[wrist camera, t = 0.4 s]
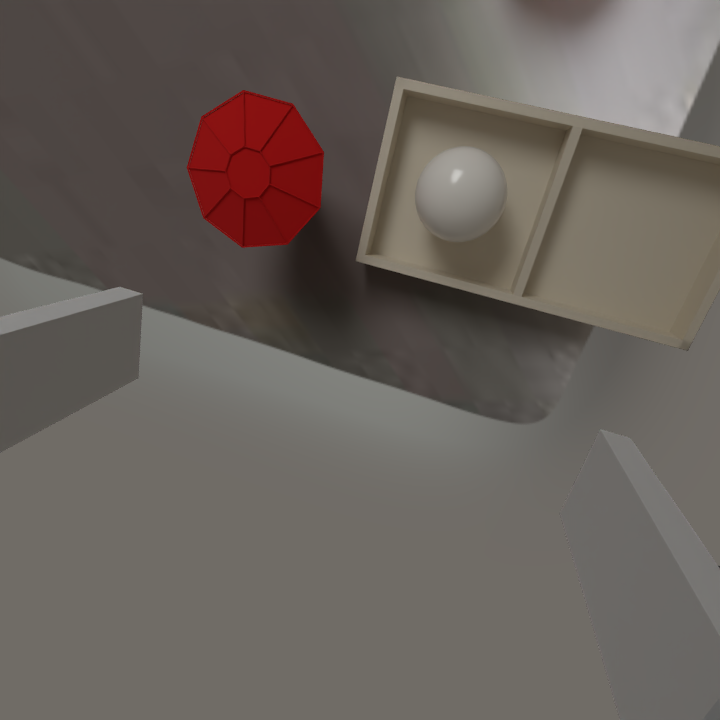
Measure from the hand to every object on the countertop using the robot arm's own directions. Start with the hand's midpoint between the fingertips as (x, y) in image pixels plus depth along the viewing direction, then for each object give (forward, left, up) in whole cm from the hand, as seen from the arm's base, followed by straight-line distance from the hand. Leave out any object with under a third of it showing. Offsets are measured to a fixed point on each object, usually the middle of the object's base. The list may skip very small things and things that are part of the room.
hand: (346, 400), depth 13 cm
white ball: (-6, +1, -25) cm, 26 cm away
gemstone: (-5, -11, -26) cm, 28 cm away
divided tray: (-6, +7, -26) cm, 27 cm away
